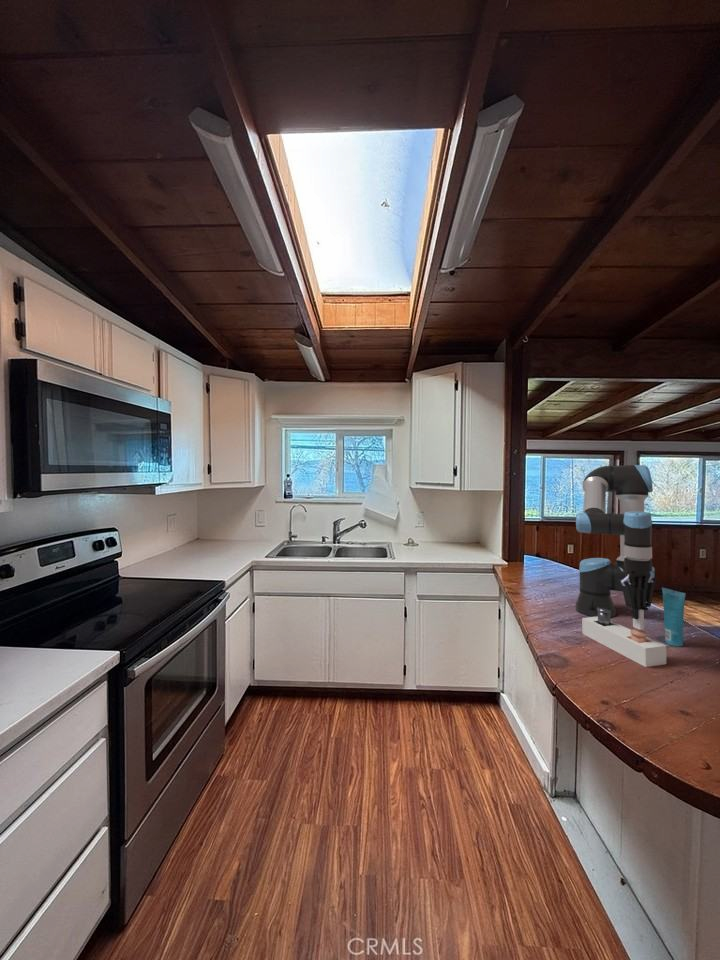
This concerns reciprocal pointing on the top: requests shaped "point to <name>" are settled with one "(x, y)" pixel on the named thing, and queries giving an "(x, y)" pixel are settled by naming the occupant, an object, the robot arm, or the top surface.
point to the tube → (673, 616)
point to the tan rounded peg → (638, 635)
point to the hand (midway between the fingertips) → (638, 628)
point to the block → (625, 642)
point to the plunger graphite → (604, 616)
